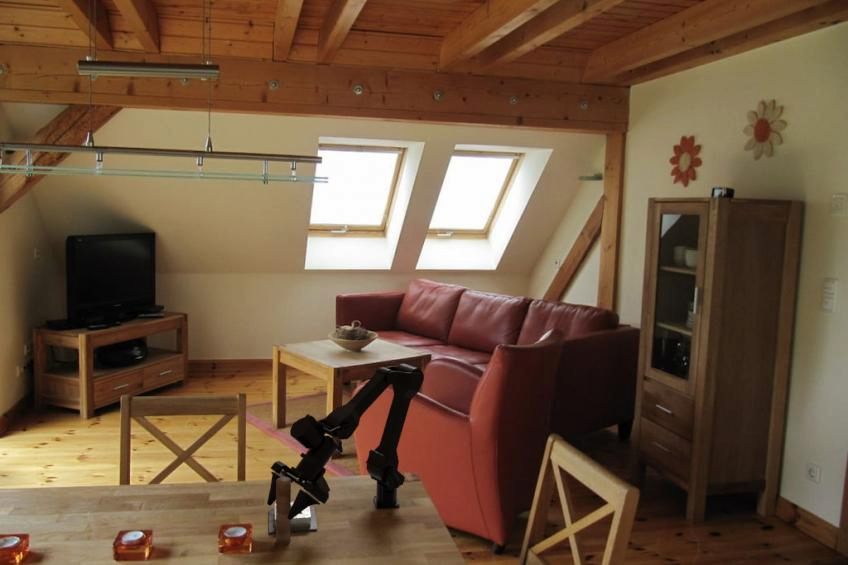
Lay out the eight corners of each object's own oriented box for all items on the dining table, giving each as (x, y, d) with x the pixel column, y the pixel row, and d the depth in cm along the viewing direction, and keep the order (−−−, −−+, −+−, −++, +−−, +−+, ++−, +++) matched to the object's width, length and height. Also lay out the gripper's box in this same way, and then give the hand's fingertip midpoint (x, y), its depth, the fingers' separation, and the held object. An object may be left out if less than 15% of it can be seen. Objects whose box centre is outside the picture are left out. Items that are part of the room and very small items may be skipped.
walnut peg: (275, 538, 175) (276, 477, 172) (290, 537, 176) (290, 476, 173) (276, 545, 171) (276, 483, 169) (290, 544, 172) (291, 482, 170)
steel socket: (268, 511, 188) (268, 500, 188) (314, 508, 191) (314, 498, 190) (268, 534, 177) (268, 522, 176) (316, 530, 179) (317, 519, 179)
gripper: (356, 485, 175) (319, 541, 169) (314, 461, 188) (278, 512, 183) (331, 463, 168) (291, 520, 163) (289, 440, 182) (250, 492, 176)
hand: (278, 511), depth 171 cm, fingers open, 9 cm apart
